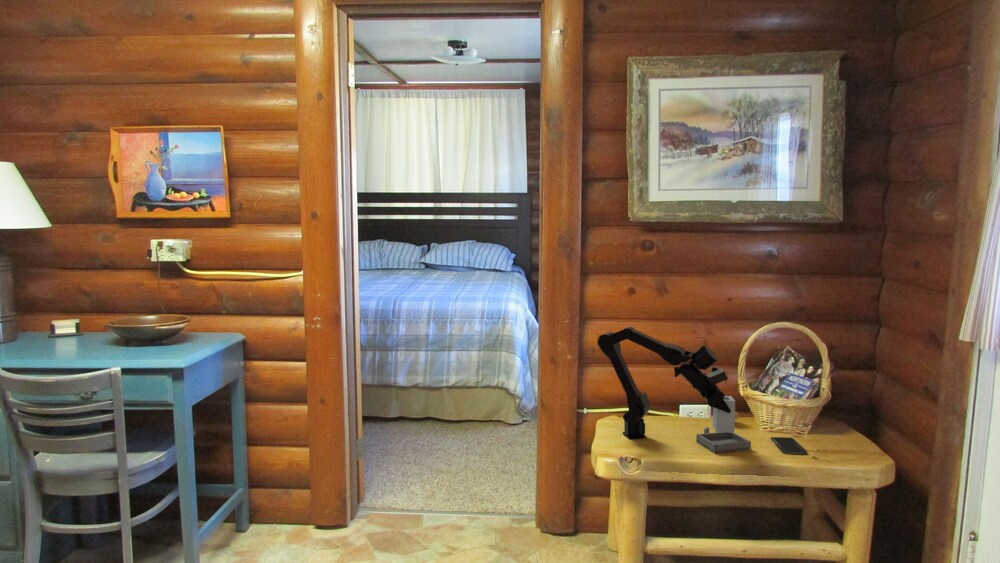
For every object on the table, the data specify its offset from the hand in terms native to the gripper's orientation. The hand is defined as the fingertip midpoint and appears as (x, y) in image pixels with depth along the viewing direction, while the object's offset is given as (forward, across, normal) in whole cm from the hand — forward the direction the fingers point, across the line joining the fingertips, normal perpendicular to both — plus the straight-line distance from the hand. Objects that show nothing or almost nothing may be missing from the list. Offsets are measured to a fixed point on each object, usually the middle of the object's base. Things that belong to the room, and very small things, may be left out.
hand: (727, 409), depth 222 cm
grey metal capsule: (+6, +10, +12) cm, 17 cm away
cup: (+12, +29, +6) cm, 32 cm away
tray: (+8, 0, +10) cm, 13 cm away
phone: (+24, +1, -5) cm, 25 cm away
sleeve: (+4, 0, +6) cm, 7 cm away
